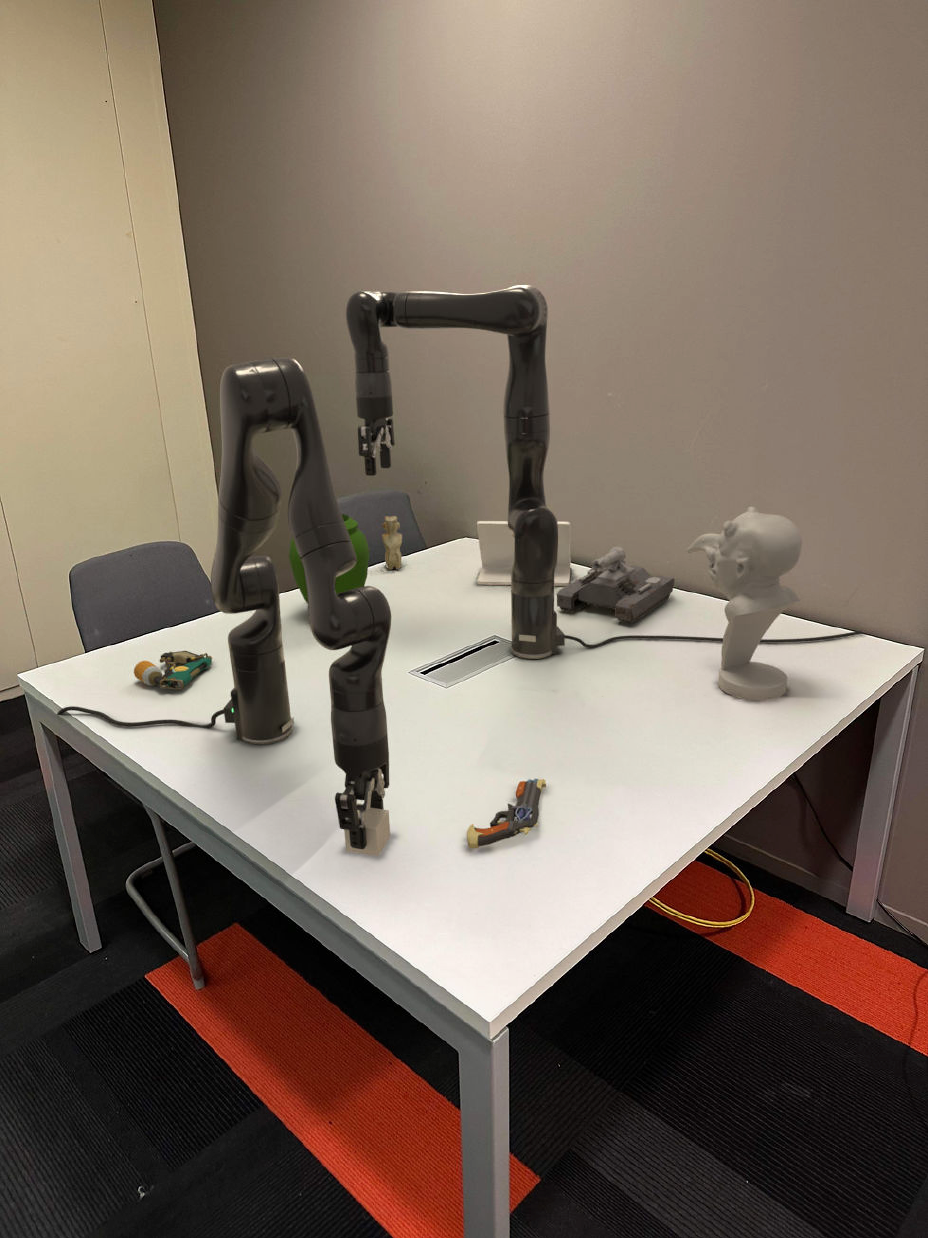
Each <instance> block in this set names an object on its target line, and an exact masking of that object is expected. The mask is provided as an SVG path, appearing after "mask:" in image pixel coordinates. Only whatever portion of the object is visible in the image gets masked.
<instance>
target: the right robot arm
mask: <svg viewBox="0 0 928 1238" xmlns="http://www.w3.org/2000/svg"><path fill="white" fill-rule="evenodd" d="M548 308H549V307H548V303H547V300H546V297H545V296H544V294H543V293H542V291H541V290H539V289H538V288H537V287H535V286H533V285H529V284H522V285H521V284H519V285H512V286H510V287H508V288H505V289H500V290H495V291H489V292H483V293H453V292H444V291H429V290H428V291H421V290H418V291H417V290H416V291H414V290H413V291H411V290H410V291H409V290H407V291H401V292H394V291H377V290H376V291H375V290H371V291H370V290H369V291H366V290H362V291H355V292H354V293H353V294H351V295H350V296H349V298H348V299H347V301H346V306H345V321H346V322H345V323H346V325H347V330H348V334H349V339H350V342H351V345H352V348H353V352H354V353H353V357H354V359H353V360H354V371H355V373H354V374H355V375H354V376H355V377H354V389H355V390H354V392H355V404H356V416H357V418H359V419H363V420H364V425H362V426H357V443H358V444H357V445H358V456H359V457H362V458H363V459H364V470H365V475H366V476H369V477H371V476H372V477H374V476H376V475H377V461H376V460H377V459H376V455H377V450H378V449H379V463H380V468H381V469H390V468H391V467H392V459H391V451H392V448H393V447H394V446H395V431H394V420H393V418H391V417H393V415H394V408H393V407H394V406H393V405H394V404H393V390H392V379H391V374H390V357H389V349H388V345H387V344H386V343H385V342H384V341H382V336H381V331H380V328H401V329H408V330H446V329H448V330H449V329H471V330H480V331H485V332H486V331H487V332H492V333H498V334H502V335H506V336H507V345H508V346H507V347H508V352H509V353H508V357H509V360H508V364H509V365H508V372H507V378H506V382H505V383H506V384H505V389H504V398H503V409H502V410H503V430H504V442H505V454H506V462H507V469H508V480H509V482H508V504H507V505H508V506H507V521H508V527H509V530H510V532H511V534H512V535H513V537H514V563H513V564H512V566H511V585H510V588H511V589H510V597H511V599H510V603H511V604H510V606H511V607H510V609H511V610H510V615H511V617H510V618H511V621H510V622H511V643H510V644H511V647H510V651H511V653H512V655H513V656H515V657H518V658H521V659H525V660H526V659H527V660H540V659H545V658H548V657H550V656H552V655H557V654H558V653H557V650H558V649H557V648H558V647H564V646H565V645H566V643H565V642H566V639H567V640H571V641H575V642H578V643H579V644H580V645H581V646H583V647H584V648H587V649H595V648H599V647H602V646H605V645H606V644H609V643H611V642H613V641H616V640H617V641H618V640H633V639H634V640H635V639H638V640H681V641H682V640H683V641H684V640H685V641H707V642H723V637H707V636H682V635H641V634H639V635H635V634H633V635H631V634H630V635H617V636H613V637H610V638H607V639H605V640H603V641H601V642H600V643H596V644H588V643H586V642H584V640H582V639H581V638H579V637H576V636H574V635H573V636H571V635H567V634H565V632H563V631H562V630H561V628H560V627H559V626H558V613H557V612H556V611H555V586H554V572H555V568H556V565H557V555H558V523H557V522H558V520H557V517H556V515H555V514H554V513H553V511H551V509H549V508H548V507H547V502H546V501H547V500H546V493H545V484H544V473H545V466H546V461H547V457H548V452H549V446H550V442H551V441H550V440H551V417H550V400H549V385H548V374H547V366H546V365H547V364H546V348H547V347H546V345H547V329H548V314H549V311H548V310H549V309H548ZM862 634H863V631H862V630H856V631H852V632H846V633H841V634H840V633H839V634H833V635H826V636H816V637H815V636H814V637H803V638H781V639H780V638H779V639H777V638H776V639H775V638H773V639H770V638H768V639H767V638H766V639H765V638H762V639H761V641H760V642H759V644H762V643H764V644H767V643H769V644H774V643H775V644H776V643H782V644H783V643H802V642H804V643H805V642H817V641H824V640H826V641H827V640H835V639H840V638H846V637H852V636H857V635H862Z"/></svg>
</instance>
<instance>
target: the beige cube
mask: <svg viewBox="0 0 928 1238" xmlns="http://www.w3.org/2000/svg"><path fill="white" fill-rule="evenodd" d="M357 811H358V817H359V816H360V811H359V810H357ZM390 825H391V824H390V812H389V810H388V809H384V810H383V809H377V808H370V809H369V810H367V811H366V818H365V828H366V841H367V845H366V847H365V848H364V849H356V848H352V847H351V845H350V835H349V830H345V829H343V831H344V833H343V834H344V843H345V852H349V853H350V852H351V853H356V854H362V855H368V856H372V857H373V856H374V857H379V856H380V855H381V852H382V851H383V849H384V848H385V846H386V845H387V843H388V842H389V840H390V838H391V826H390Z"/></svg>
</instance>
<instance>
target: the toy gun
mask: <svg viewBox="0 0 928 1238" xmlns="http://www.w3.org/2000/svg"><path fill="white" fill-rule="evenodd" d="M544 788H545V789H546V788H547V781H546V779H544V778H541V779H539V778H533V779H531V778H529V779H527V780H523V781H522V780H521V781H519V782H518V783H517V787H516V789H515V798H516V800H517V802H516V804H515V805H513V804H512V803H507V810H501V811H497V812H496V813H495V816H494V818H493V819H492V820H491V821H490V822H489V827H485V828H479V827H475V825H474V824H473V823H472V824H469V827H468V828H467V830H466V841H467V847H468V849H471V850H472V849H474V850H475V849H478V848H481V847H484V846H489V845H492V844H495V843H498V842H500V841H503V840H506V839H511V838H513V837H516V836H518V835H520V834H522V833H523V834H524V835H525V836H528V834H529V832H530V831H532V828H534V827H538V821H539V817H540V809H539V803H540V800H541V794H542V791H543V789H544ZM500 819H505V820H504V821H500Z"/></svg>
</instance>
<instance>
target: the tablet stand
mask: <svg viewBox="0 0 928 1238" xmlns="http://www.w3.org/2000/svg"><path fill="white" fill-rule="evenodd" d="M557 523H558V555H557V565H556V568H555V572H554V587H556V586H557V587H566V586H567V585H569V584H570V580H571V579H570V578H571V565H572V564H571V560H572V558H571V522H569V521H557ZM476 531H477V537H478V544H479V551H480V557H481V558H480V559H481V570H480V573H479V575H478V577H477V580H476V581H477V582H476V584H478V585H484V586H485V585H486V586H487V585H489V586H490V585H491V586H511V566H512V564H513V563H514V537H513V535H512V534H511V532H510V530H509V527H508V520H505V521H504V520H477V522H476Z"/></svg>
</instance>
